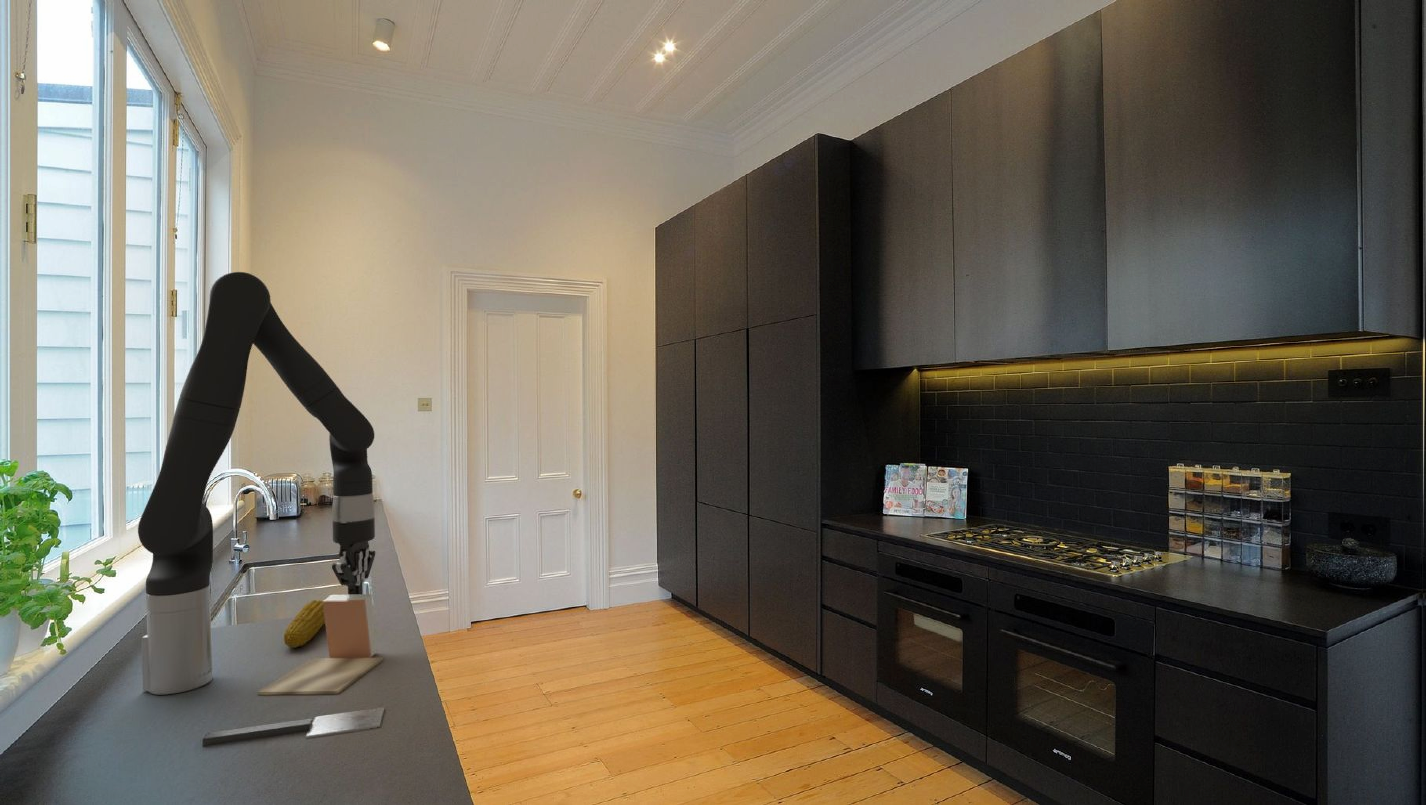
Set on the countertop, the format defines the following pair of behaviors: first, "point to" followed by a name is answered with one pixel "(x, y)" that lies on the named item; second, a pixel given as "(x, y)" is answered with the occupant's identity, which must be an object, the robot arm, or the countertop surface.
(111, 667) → the countertop surface
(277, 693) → the board
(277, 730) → the knife with black handle
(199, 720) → the countertop surface
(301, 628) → the food
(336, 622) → the sponge
